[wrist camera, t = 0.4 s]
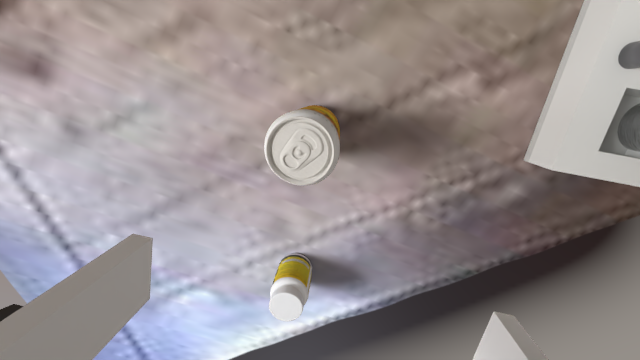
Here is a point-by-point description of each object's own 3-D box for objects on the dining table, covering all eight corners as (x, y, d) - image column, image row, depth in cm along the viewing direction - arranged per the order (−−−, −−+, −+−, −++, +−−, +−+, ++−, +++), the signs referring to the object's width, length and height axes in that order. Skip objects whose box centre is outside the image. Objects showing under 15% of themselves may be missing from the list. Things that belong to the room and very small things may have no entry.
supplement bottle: (276, 254, 42) (261, 292, 34) (308, 249, 42) (301, 286, 34) (283, 284, 44) (271, 326, 35) (315, 279, 43) (309, 321, 35)
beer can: (349, 130, 37) (356, 151, 23) (315, 164, 38) (301, 204, 24) (314, 94, 36) (298, 93, 22) (281, 130, 37) (244, 151, 23)
